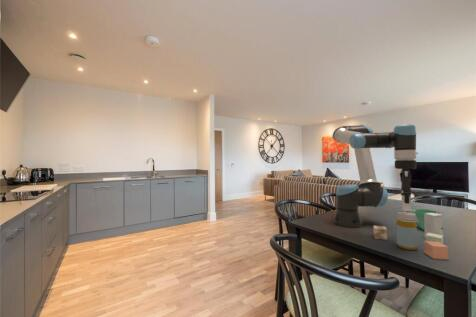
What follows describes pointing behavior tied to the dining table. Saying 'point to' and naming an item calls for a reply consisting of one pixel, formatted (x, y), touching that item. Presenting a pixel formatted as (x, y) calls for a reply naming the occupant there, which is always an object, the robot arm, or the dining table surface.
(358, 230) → the dining table surface
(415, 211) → the mug
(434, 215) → the skincare box
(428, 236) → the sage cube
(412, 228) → the bottle
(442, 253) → the terracotta cube
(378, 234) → the maple cube
